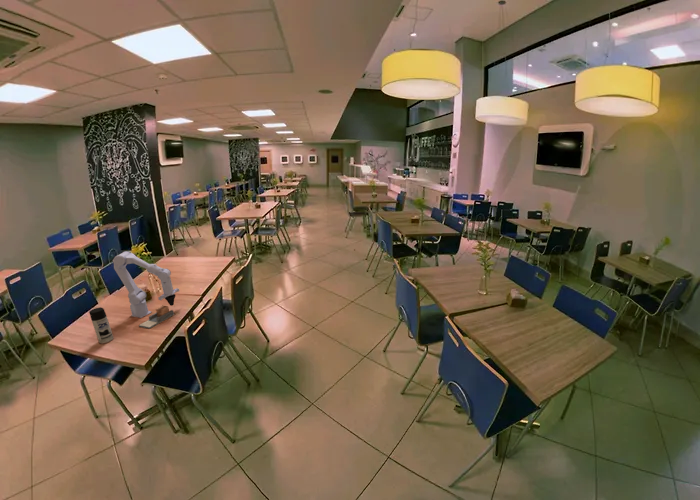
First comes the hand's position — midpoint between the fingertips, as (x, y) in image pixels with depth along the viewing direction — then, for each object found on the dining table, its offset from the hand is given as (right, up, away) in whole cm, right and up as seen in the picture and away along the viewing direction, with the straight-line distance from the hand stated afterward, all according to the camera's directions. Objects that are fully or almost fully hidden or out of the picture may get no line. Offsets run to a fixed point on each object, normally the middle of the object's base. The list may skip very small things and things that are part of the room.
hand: (171, 305), depth 197 cm
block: (-2, -6, -5) cm, 8 cm away
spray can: (-20, -15, -29) cm, 39 cm away
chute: (-4, -8, -9) cm, 13 cm away
